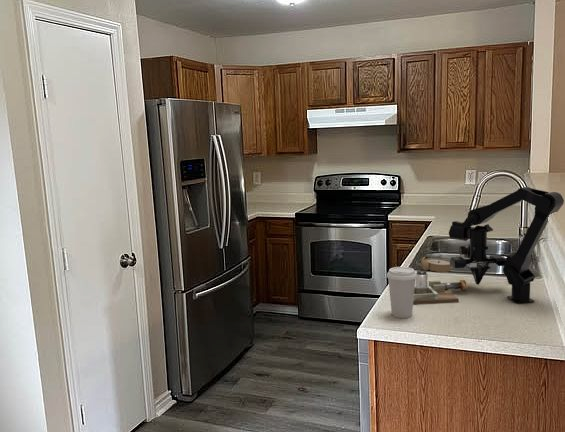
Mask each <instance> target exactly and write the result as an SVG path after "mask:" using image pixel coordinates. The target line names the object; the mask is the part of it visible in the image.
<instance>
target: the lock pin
mask: <svg viewBox="0 0 565 432" xmlns="http://www.w3.org/2000/svg"><path fill="white" fill-rule="evenodd" d="M439 284H444V285H445V290H446V289H448V290H460V291H461V292H465V291H467V286H468V285H467V281H466V280H465V279H459V281H458V282H456V281H455V282H441V283H439Z"/></svg>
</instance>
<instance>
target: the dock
mask: <svg viewBox="0 0 565 432" xmlns="http://www.w3.org/2000/svg"><path fill="white" fill-rule="evenodd" d="M439 283H442V281H440V280H428V285H427V294H416V286H415V288H414V299H413V306H414V305H431V304H448V303H449V304H450V303H451V304H452V303H453V304H455V303H459V302H460V301H459V299H460V298H458V297H457V296H456V295H455V294H453V292H452V291H450V289H446V290H445V285H444V284H439Z"/></svg>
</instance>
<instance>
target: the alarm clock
mask: <svg viewBox="0 0 565 432" xmlns="http://www.w3.org/2000/svg"><path fill="white" fill-rule="evenodd" d="M415 265H416V266H418V267H420V268H421V270H422V271H426V272H427V271H432V272H438V273H439V272H440V273H445V272H450V271H452V269H453V268H454V267H453V266H452V265H450V259H449V260H448V259H444V258H438V257H430V258H429V257H428V256H423V257H422V258H421V259H420V260H419V259H418V260H416V261H415Z"/></svg>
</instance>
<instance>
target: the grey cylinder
mask: <svg viewBox="0 0 565 432" xmlns="http://www.w3.org/2000/svg"><path fill="white" fill-rule="evenodd" d="M415 273H416V275H417V278H415V287H416V294H427V286H428V273H427V271H424V270H416V272H415Z"/></svg>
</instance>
